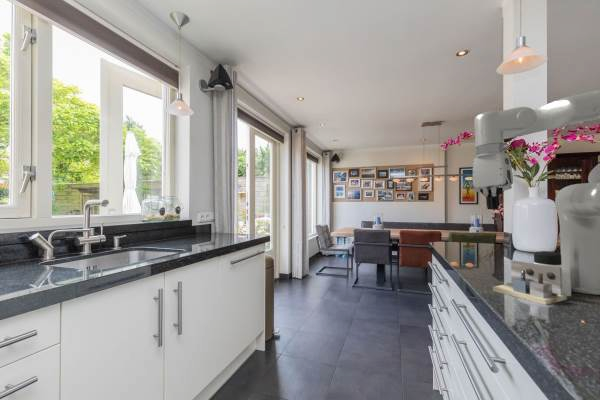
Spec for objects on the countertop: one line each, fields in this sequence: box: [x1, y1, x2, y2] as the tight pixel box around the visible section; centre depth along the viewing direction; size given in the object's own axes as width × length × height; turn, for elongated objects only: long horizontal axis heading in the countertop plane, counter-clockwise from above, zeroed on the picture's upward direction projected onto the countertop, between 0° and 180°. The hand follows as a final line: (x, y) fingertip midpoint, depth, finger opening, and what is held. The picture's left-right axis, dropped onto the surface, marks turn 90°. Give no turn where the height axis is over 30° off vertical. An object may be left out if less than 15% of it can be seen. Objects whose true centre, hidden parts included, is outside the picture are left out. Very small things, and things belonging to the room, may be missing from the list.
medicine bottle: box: [533, 250, 572, 297], centre depth 82 cm, size 7×7×12 cm
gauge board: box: [492, 259, 568, 306], centre depth 79 cm, size 10×13×8 cm
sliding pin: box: [513, 270, 534, 293], centre depth 78 cm, size 4×3×6 cm
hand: (493, 209), depth 88 cm, fingers closed
